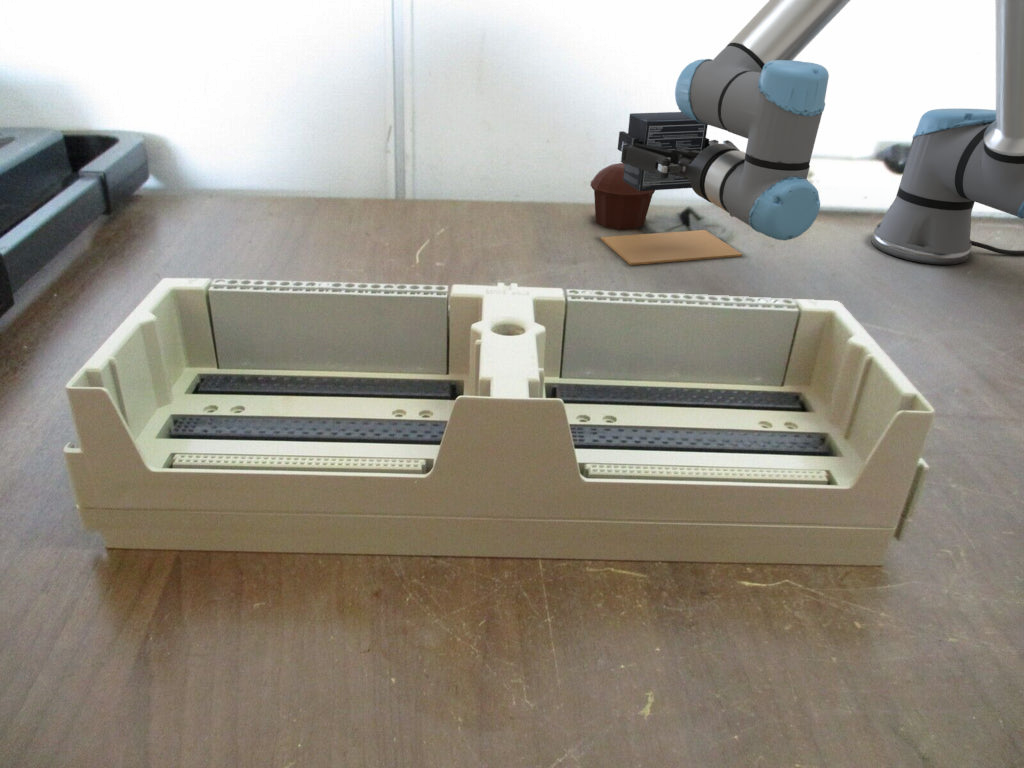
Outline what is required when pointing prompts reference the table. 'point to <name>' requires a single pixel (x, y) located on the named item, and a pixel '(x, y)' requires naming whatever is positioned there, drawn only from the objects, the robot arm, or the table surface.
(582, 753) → the table surface
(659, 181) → the small box
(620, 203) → the muffin
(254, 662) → the table surface
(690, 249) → the cork mat
